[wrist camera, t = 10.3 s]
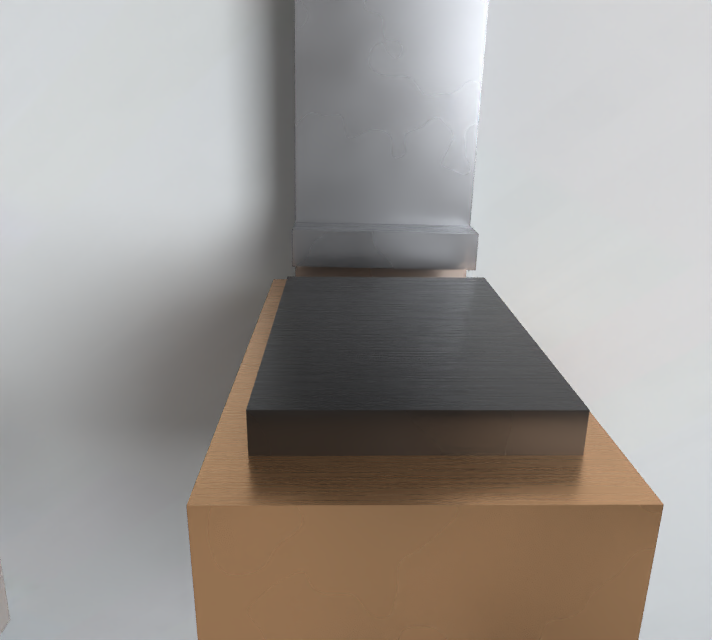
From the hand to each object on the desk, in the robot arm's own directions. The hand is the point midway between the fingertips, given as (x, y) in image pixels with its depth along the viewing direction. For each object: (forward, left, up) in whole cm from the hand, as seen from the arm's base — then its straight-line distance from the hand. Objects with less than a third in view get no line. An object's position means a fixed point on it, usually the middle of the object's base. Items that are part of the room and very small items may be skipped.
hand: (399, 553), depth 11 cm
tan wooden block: (0, 0, -6) cm, 6 cm away
